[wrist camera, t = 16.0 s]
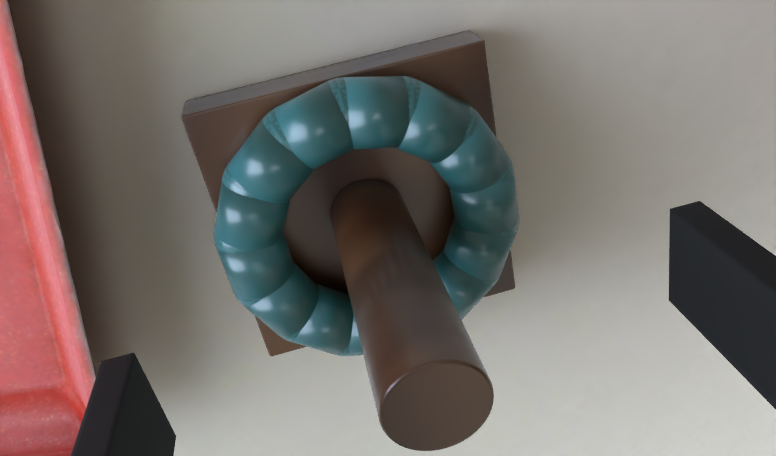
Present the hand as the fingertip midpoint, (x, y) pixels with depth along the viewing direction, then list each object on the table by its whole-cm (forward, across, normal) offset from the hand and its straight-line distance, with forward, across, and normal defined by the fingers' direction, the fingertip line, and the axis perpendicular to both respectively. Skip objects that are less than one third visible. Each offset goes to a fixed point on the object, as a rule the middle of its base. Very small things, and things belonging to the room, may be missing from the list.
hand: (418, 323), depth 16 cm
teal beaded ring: (+5, 0, 0) cm, 5 cm away
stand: (+8, 0, 0) cm, 8 cm away
